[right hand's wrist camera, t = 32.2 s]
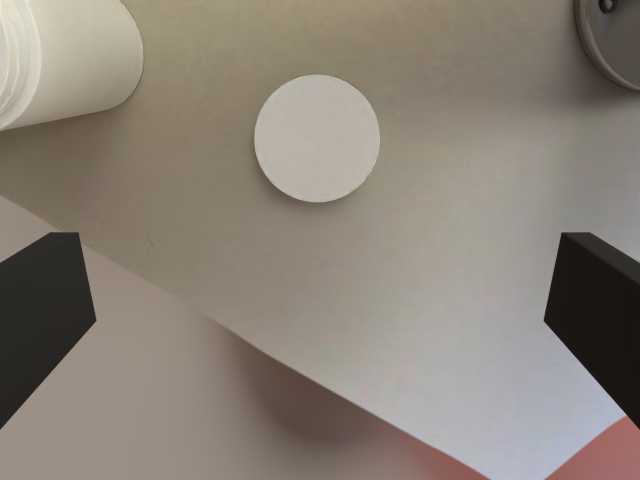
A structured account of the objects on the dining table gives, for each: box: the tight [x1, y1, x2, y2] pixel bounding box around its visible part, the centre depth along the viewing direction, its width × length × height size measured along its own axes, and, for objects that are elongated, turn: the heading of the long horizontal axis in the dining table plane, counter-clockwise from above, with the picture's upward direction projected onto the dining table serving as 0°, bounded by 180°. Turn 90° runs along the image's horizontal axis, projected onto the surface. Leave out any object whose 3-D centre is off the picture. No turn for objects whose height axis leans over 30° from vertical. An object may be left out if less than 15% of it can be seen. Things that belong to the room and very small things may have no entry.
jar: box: [0, 0, 144, 131], centre depth 27 cm, size 9×9×15 cm
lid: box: [254, 74, 380, 202], centre depth 36 cm, size 10×10×2 cm
